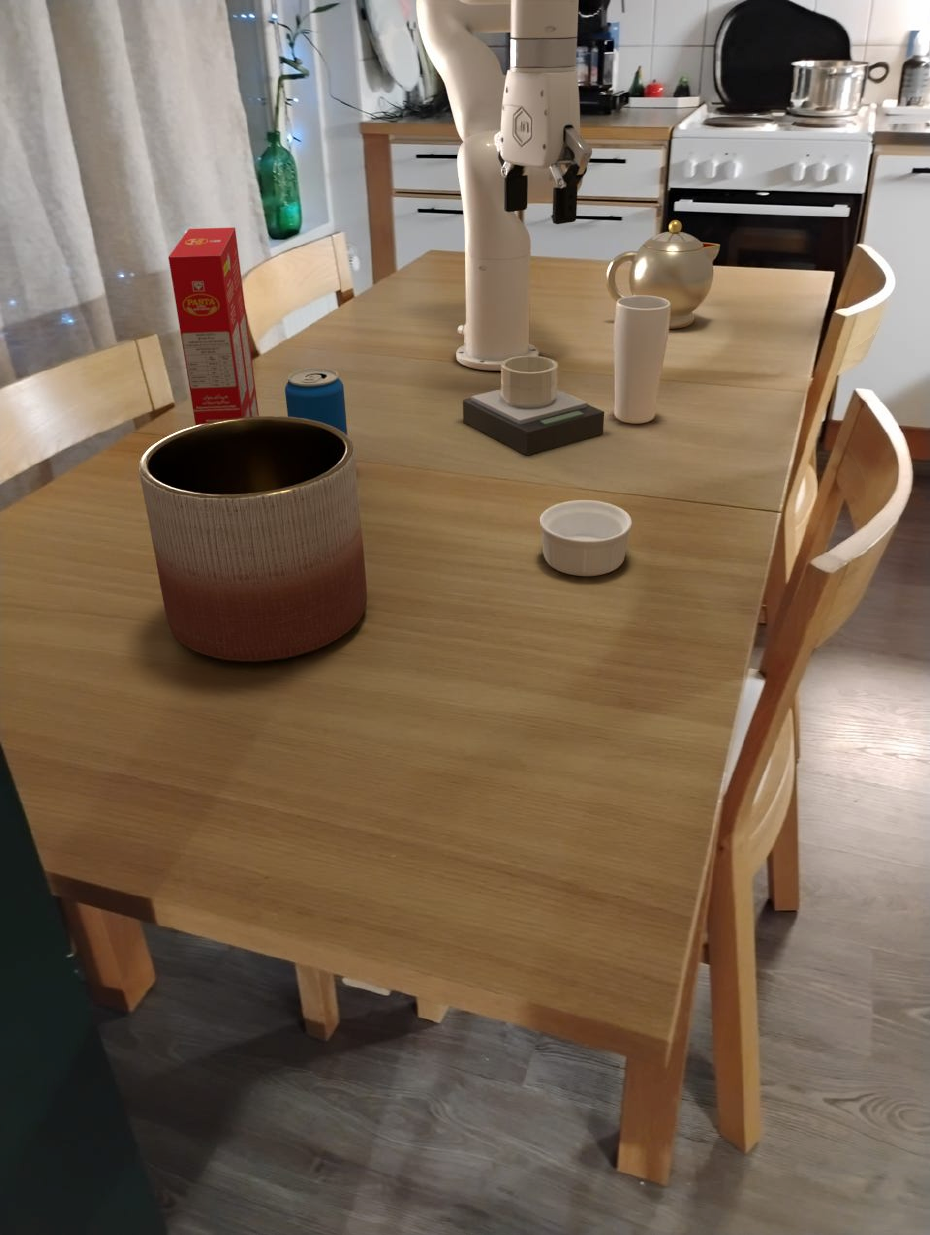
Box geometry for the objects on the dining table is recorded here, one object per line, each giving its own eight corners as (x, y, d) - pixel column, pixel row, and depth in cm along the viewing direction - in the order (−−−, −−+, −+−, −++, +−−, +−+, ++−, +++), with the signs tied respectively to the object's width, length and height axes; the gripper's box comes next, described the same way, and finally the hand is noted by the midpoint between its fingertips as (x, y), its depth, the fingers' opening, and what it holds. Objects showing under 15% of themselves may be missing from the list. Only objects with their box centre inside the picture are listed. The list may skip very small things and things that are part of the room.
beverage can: (359, 468, 119) (352, 369, 112) (336, 490, 114) (326, 388, 107) (310, 462, 121) (300, 364, 114) (284, 483, 115) (272, 382, 109)
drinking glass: (659, 428, 128) (670, 310, 120) (606, 425, 129) (613, 308, 122) (661, 410, 134) (672, 296, 126) (610, 407, 135) (617, 294, 127)
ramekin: (605, 589, 94) (607, 548, 92) (522, 566, 98) (523, 526, 96) (643, 551, 100) (646, 511, 98) (564, 530, 104) (565, 492, 102)
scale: (463, 421, 131) (462, 395, 129) (536, 403, 137) (536, 377, 135) (527, 455, 121) (527, 427, 120) (603, 434, 127) (604, 407, 125)
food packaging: (219, 433, 129) (188, 228, 116) (260, 432, 129) (235, 227, 116) (204, 481, 116) (168, 257, 103) (250, 478, 117) (220, 255, 104)
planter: (387, 650, 86) (376, 481, 77) (174, 687, 82) (138, 512, 73) (348, 556, 100) (335, 404, 92) (165, 583, 96) (134, 427, 88)
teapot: (704, 312, 174) (715, 211, 166) (717, 334, 163) (730, 228, 154) (600, 312, 175) (606, 212, 167) (606, 334, 164) (612, 229, 155)
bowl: (490, 397, 129) (490, 362, 126) (534, 386, 132) (535, 352, 129) (523, 413, 124) (523, 376, 121) (567, 401, 127) (569, 366, 124)
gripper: (473, 55, 118) (474, 209, 127) (565, 61, 106) (559, 231, 115) (524, 52, 122) (521, 203, 131) (618, 58, 110) (609, 223, 119)
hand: (539, 216), depth 123 cm, fingers open, 9 cm apart
